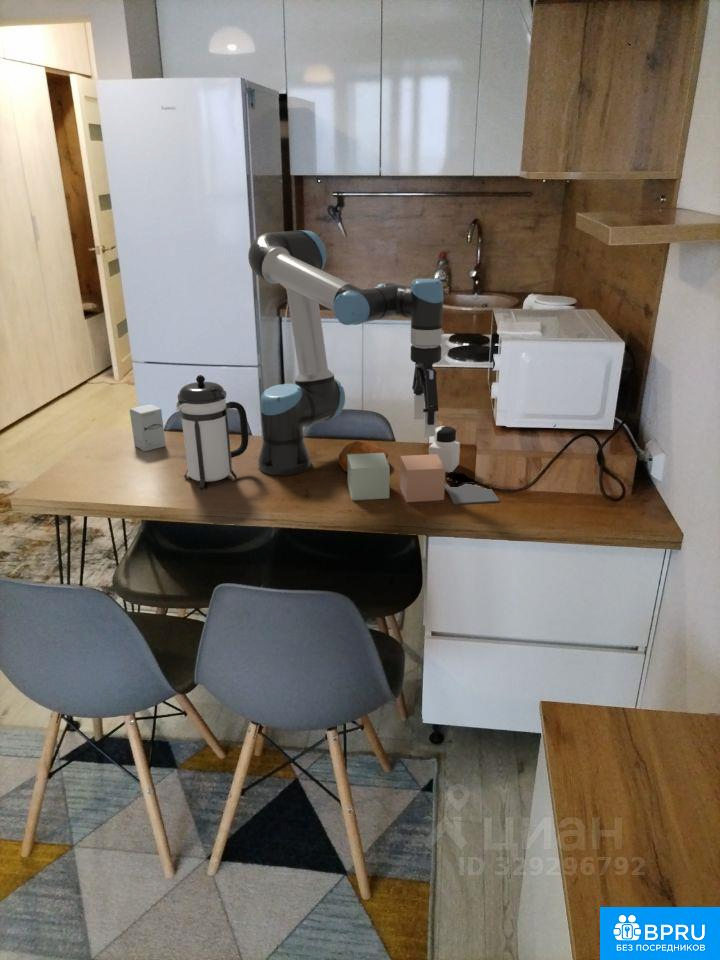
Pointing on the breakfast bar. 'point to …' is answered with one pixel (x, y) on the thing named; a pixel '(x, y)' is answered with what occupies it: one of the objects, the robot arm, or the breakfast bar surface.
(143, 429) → the supplement box
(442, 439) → the medicine bottle
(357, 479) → the pale mint cube
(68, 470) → the breakfast bar surface
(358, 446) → the croissant
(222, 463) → the coffee press
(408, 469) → the peach wooden cube
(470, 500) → the coaster
